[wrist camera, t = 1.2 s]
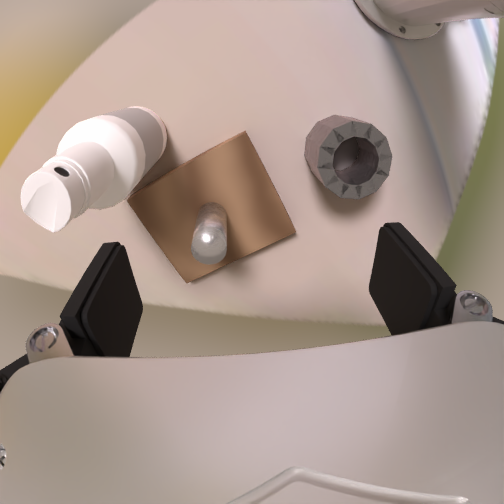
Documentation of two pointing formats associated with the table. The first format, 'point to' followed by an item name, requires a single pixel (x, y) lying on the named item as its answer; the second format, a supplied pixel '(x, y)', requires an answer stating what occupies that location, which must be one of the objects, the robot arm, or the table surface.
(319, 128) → the ring
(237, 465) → the robot arm
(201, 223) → the steel shaft
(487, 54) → the table surface
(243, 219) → the walnut base
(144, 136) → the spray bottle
